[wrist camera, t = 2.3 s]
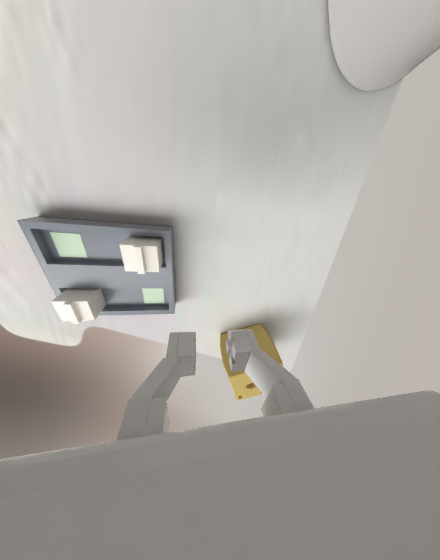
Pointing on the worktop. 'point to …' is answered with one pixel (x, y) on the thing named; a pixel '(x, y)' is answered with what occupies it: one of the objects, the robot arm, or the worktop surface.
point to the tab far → (79, 304)
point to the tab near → (142, 254)
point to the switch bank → (102, 262)
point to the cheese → (239, 378)
